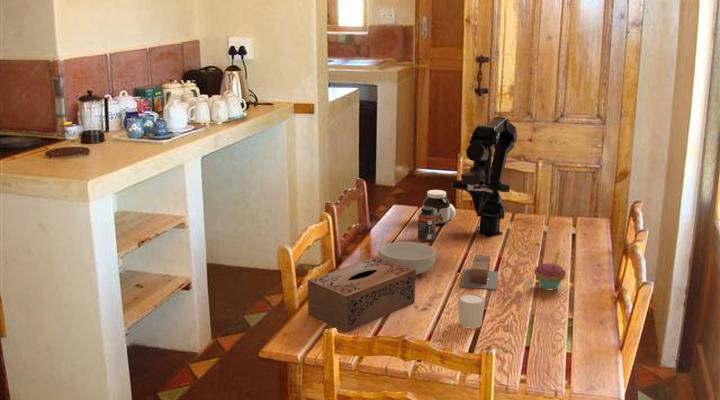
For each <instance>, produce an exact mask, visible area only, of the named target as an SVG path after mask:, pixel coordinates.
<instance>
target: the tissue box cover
mask: <svg viewBox="0 0 720 400" xmlns="http://www.w3.org/2000/svg"><path fill="white" fill-rule="evenodd" d="M415 274H416V270H415V269H412V268H409V267H406V266H403V265H400V264H398V263H395V262H392V261H389V260H386V259H383V258H380V257H379V255H377V256H373V257H371V258H368V259H365V260H363V261H360V262H357V263H354V264H351V265H348V266H345V267H343V268H339V269H337V270H333V271H330V272H328V273H325V274H324V273H323V274H322V275H319V276H317V277H316V276H315V277H313V278H311V279H308V280H307V315H308V316H309V317H312V318H314V319H316V320H318V321H321V322H323V323H325V324H328V326H331V327H334V328H335V327H337V328H338V330H339V331H341V332H343V333H348V332H351V331H354V330H356V329H358V328H360V327H362V326H366V325H367V324H371V323H372V322H374V321H376V320H379V319H382V318H383V317H385V316H388V315H390V314H393V313H395V312H398V311H400V310H403V309H404V308H407V307H409V306H408V305H410V306H412V305H414V304H416V303H415V302H416V276H415ZM413 303H414V304H413ZM411 304H412V305H411ZM337 328H336V329H337Z"/></svg>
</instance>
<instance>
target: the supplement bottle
mask: <svg viewBox="0 0 720 400" xmlns="http://www.w3.org/2000/svg"><path fill="white" fill-rule="evenodd" d="M417 217H418V219H417V220H418V222H417V239H418V240H419V241H421V242H428V243H429V242H433V241H435V240H436V227H437V226H436V215H435V214H434V213H433V207H429V206H425V207H421V212H420V213H419V214H418V216H417Z"/></svg>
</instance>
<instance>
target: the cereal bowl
mask: <svg viewBox="0 0 720 400" xmlns="http://www.w3.org/2000/svg"><path fill="white" fill-rule="evenodd" d="M436 253H437V252H436V250H435V248H433V247H432V246H430V245H428V244H426V243H421V242H417V241H416V242H414V241H395V242H390V243H385V244H384V245H382V246H381V247H379V250H378V257H380V258H383V259H386V260H389V261H392V262H395V263H398V264H400V265H403V266H406V267H409V268H412V269H415V270H416V274H415V277H416V276H418V275H419V274H422V273H425V272H427V271H429V270H430V269H431V268H432V267H433V266H434V264H435V261H436Z"/></svg>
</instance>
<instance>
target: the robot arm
mask: <svg viewBox="0 0 720 400" xmlns="http://www.w3.org/2000/svg"><path fill="white" fill-rule="evenodd" d="M517 140H518V132H517V127H516V126H514V124H513V123H511V122H510V119H509V118H507V117H501V116H495V117H493V119H492V120H491V121H490V122H489V123H487V124H486V125H485V124H484V125H483V124H481V125H479V124H478V125H477V126H476V127H475V128H474V129H473V132H472V135H471V137H470V139H469V145H468V146H467V148H466V150H465V155H466V157H467V159H469V160H470V161H472V162H473V164H472V166H470V168H469V171H467V172H464V173H462V174H460V178H461V179H460V180H459V179H453V181H452V182H451V189H455V190H461V191H465V192H467V193H468V194H469V195H470V196H471V199H472V202H473V207H474V211H475V213H476V217H479V218H480V220H479V230H476V233H478V234H481V235H484V236H485V237H487V238H488V237H489V238H490V237H494V236H499V235H502V234H503V232H501V231H500V227H501V225H500V224H501V220H503V219H505V216H506V215H505V214H506V213H505V210H506V209H505V207H504V203H503V199H502V196H501V195H502V194H501V193H510V185H509V183H507V182H502V181H503V177H504V171H505V167H506V162H507V159H508V154H509V153H510V152H511V151H512V150H513V149H514V148H515V143H517ZM491 147H493V148H494V151H493V149H492V148H491ZM500 192H501V193H500Z"/></svg>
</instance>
